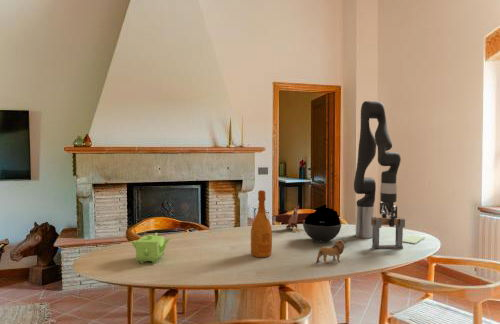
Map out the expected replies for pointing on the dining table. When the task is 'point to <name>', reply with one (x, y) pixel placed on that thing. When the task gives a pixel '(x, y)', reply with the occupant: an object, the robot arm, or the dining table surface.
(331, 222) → the bowl of black rocks
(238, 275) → the dining table surface
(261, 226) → the wine bottle
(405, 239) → the sage mat
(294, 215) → the decorative bird
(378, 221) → the cradle stand
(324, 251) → the lion figurine
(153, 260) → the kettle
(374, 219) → the walnut rail
